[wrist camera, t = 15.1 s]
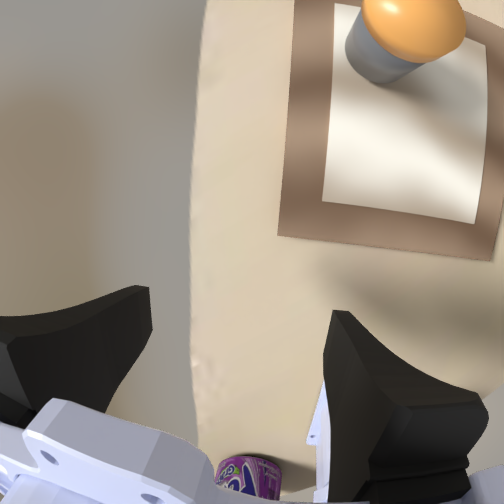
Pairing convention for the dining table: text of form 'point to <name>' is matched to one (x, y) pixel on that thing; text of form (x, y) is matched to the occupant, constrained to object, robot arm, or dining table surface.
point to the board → (393, 142)
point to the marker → (402, 36)
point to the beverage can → (250, 476)
